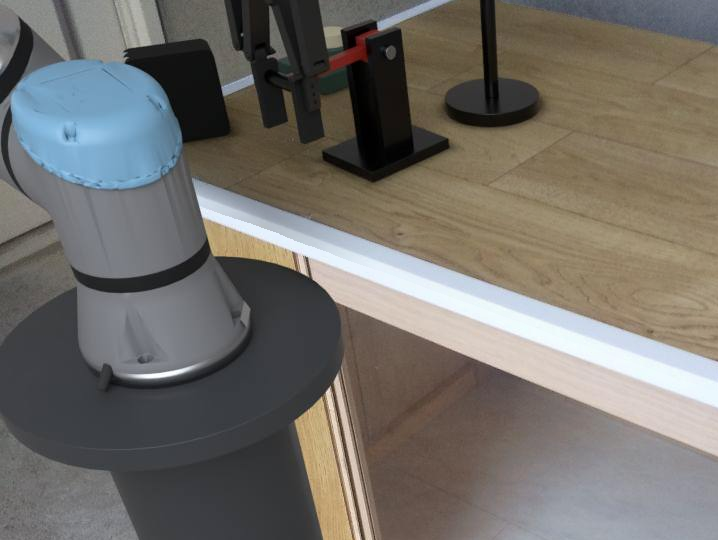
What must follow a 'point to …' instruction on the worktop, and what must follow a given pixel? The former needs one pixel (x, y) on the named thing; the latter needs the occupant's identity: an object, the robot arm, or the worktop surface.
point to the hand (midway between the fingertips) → (294, 131)
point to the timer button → (333, 36)
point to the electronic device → (186, 85)
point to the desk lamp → (491, 87)
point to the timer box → (325, 82)
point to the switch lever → (335, 62)
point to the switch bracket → (381, 110)
